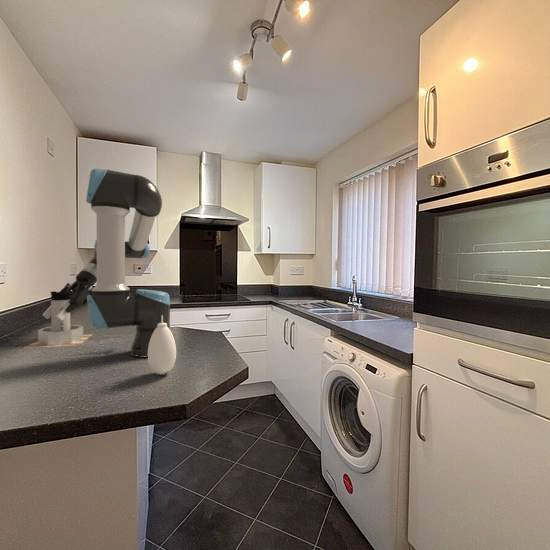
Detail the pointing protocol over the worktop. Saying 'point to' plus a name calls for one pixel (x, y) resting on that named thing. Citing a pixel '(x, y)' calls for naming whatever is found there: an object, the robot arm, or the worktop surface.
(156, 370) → the sauce bottle
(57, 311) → the travel mug
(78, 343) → the birch board
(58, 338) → the collar
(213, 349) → the worktop surface
